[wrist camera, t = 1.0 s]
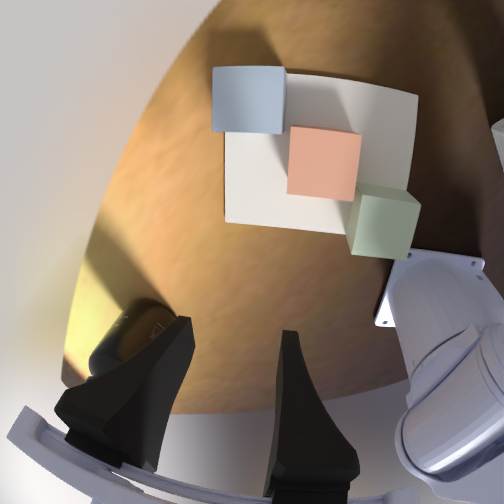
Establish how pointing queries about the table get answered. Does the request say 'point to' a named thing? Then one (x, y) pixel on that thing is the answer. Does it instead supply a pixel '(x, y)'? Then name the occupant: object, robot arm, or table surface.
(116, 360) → the supplement bottle
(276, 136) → the felt mat
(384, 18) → the table surface
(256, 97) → the slate block
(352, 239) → the sage block
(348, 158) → the terracotta block
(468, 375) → the robot arm
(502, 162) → the skincare box
